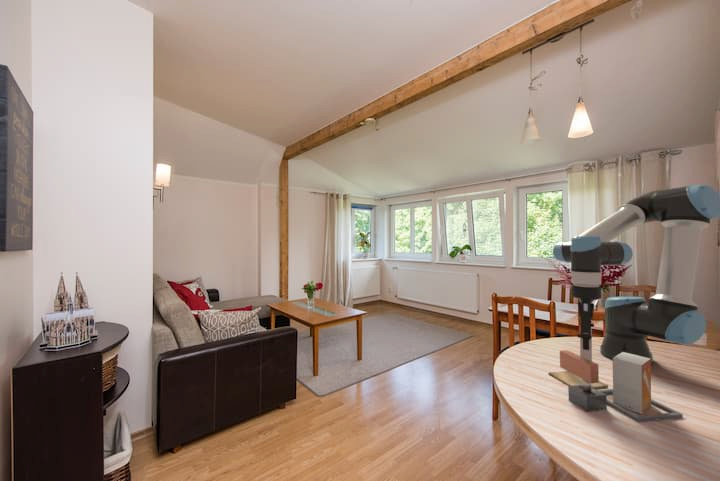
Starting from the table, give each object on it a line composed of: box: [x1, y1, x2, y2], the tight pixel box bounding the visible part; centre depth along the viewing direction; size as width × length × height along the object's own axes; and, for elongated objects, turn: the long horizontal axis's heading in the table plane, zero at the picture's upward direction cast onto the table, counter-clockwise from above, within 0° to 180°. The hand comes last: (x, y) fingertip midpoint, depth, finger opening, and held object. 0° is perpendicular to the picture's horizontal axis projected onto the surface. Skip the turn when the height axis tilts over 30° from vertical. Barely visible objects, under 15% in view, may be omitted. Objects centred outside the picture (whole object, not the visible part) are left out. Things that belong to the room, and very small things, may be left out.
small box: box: [612, 352, 652, 415], centre depth 83 cm, size 8×6×13 cm
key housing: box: [567, 385, 608, 413], centre depth 83 cm, size 6×6×4 cm
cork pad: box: [548, 370, 609, 389], centre depth 97 cm, size 11×11×1 cm
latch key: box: [559, 349, 600, 391], centre depth 86 cm, size 2×10×8 cm, turn 7°
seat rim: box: [597, 388, 684, 423], centre depth 83 cm, size 13×14×1 cm
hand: (586, 353), depth 94 cm, fingers open, 13 cm apart
